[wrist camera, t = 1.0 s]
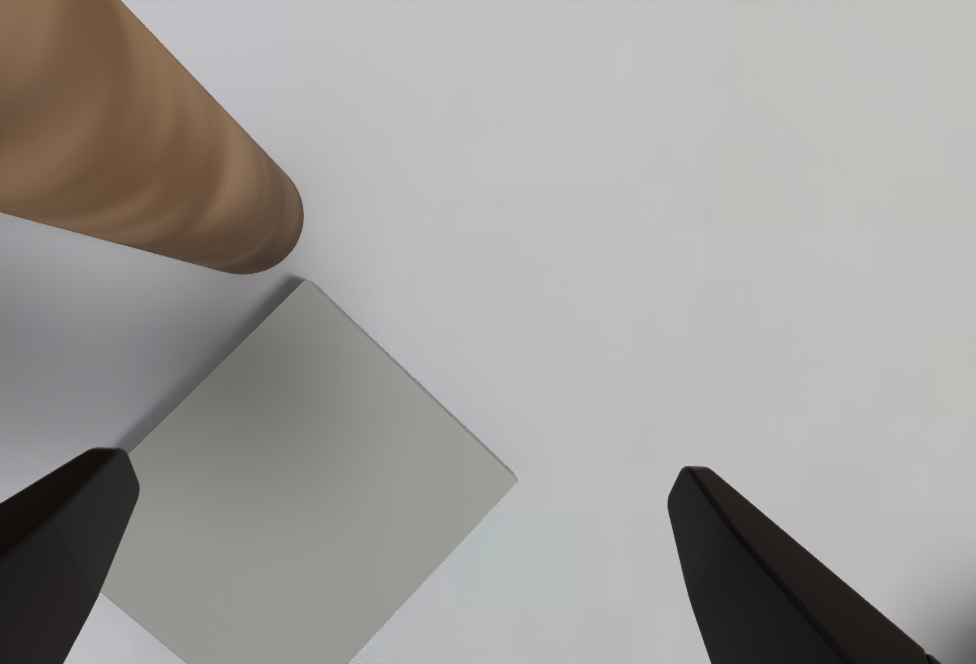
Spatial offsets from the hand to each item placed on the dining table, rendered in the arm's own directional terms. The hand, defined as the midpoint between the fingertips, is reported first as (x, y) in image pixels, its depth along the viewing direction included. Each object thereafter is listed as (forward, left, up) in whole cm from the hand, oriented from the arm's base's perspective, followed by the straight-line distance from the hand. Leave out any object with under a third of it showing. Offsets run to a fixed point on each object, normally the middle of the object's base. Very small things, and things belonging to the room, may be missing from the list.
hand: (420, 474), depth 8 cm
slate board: (-7, 0, -13) cm, 15 cm away
